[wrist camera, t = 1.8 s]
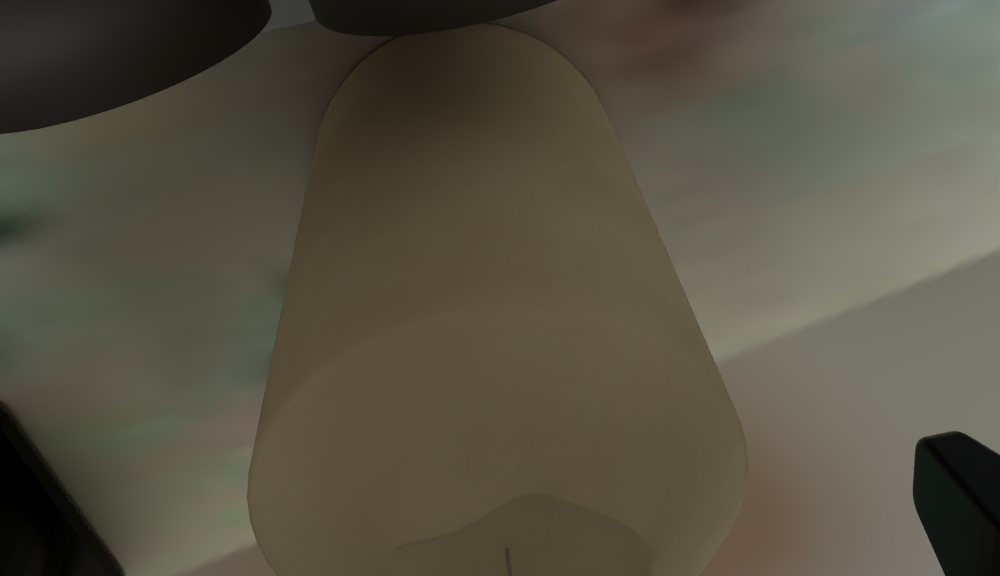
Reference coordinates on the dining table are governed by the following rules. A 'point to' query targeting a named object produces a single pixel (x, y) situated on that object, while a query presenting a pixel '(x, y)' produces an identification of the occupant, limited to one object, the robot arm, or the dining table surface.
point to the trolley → (169, 44)
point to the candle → (486, 339)
